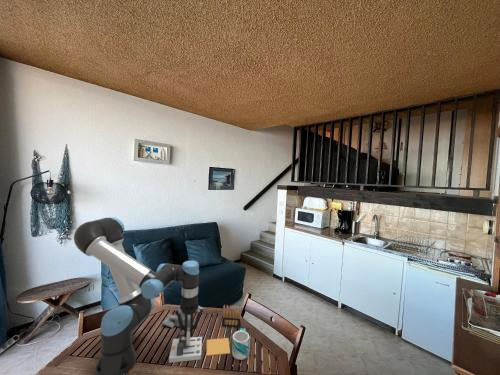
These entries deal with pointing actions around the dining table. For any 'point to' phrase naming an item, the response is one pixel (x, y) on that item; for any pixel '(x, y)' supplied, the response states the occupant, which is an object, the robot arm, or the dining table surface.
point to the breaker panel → (186, 350)
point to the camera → (175, 320)
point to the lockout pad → (218, 347)
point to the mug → (240, 344)
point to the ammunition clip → (231, 317)
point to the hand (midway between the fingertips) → (188, 342)
